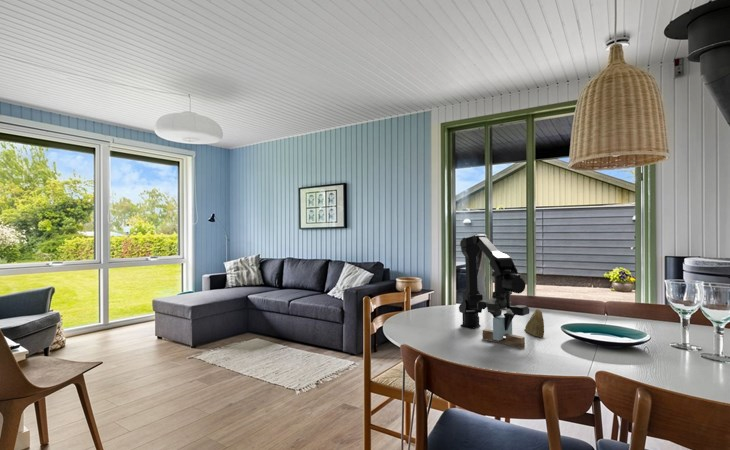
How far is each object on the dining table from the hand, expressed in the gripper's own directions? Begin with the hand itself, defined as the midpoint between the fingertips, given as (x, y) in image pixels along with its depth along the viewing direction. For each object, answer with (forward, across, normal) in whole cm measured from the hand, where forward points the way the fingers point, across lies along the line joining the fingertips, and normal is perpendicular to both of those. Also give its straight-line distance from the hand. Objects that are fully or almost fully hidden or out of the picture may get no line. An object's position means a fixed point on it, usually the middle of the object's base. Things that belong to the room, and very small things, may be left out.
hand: (502, 329), depth 149 cm
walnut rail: (+5, 0, 0) cm, 5 cm away
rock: (+5, +3, +20) cm, 21 cm away
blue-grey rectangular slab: (+3, 0, 0) cm, 3 cm away
